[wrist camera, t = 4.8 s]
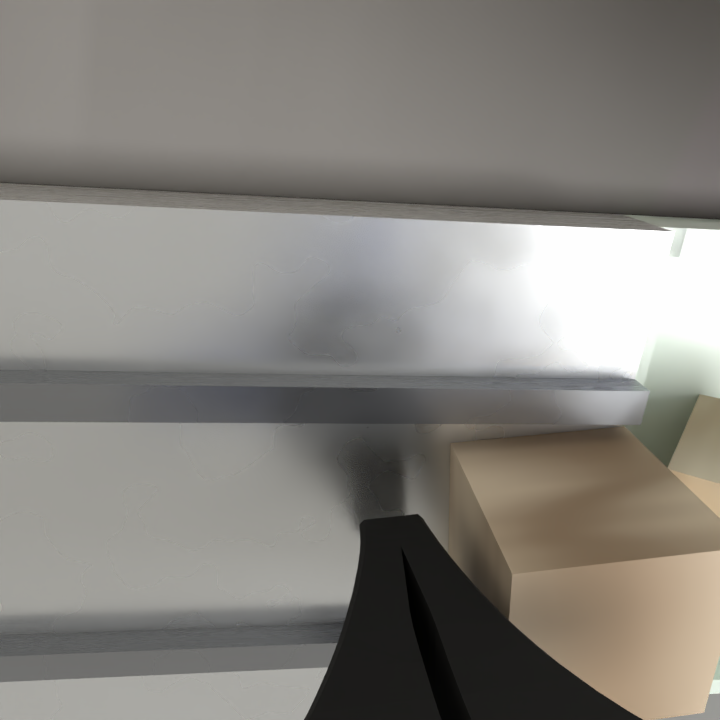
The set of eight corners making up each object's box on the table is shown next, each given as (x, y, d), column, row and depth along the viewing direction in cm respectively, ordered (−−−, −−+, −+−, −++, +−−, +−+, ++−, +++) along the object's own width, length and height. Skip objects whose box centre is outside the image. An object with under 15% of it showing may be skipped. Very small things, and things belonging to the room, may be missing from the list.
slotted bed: (622, 214, 14) (693, 238, 11) (519, 659, 19) (551, 739, 17) (-93, 178, 12) (-191, 196, 9) (19, 682, 17) (-25, 775, 15)
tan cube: (624, 426, 13) (749, 547, 10) (603, 564, 15) (703, 712, 11) (450, 443, 13) (512, 574, 9) (447, 582, 15) (499, 740, 11)
